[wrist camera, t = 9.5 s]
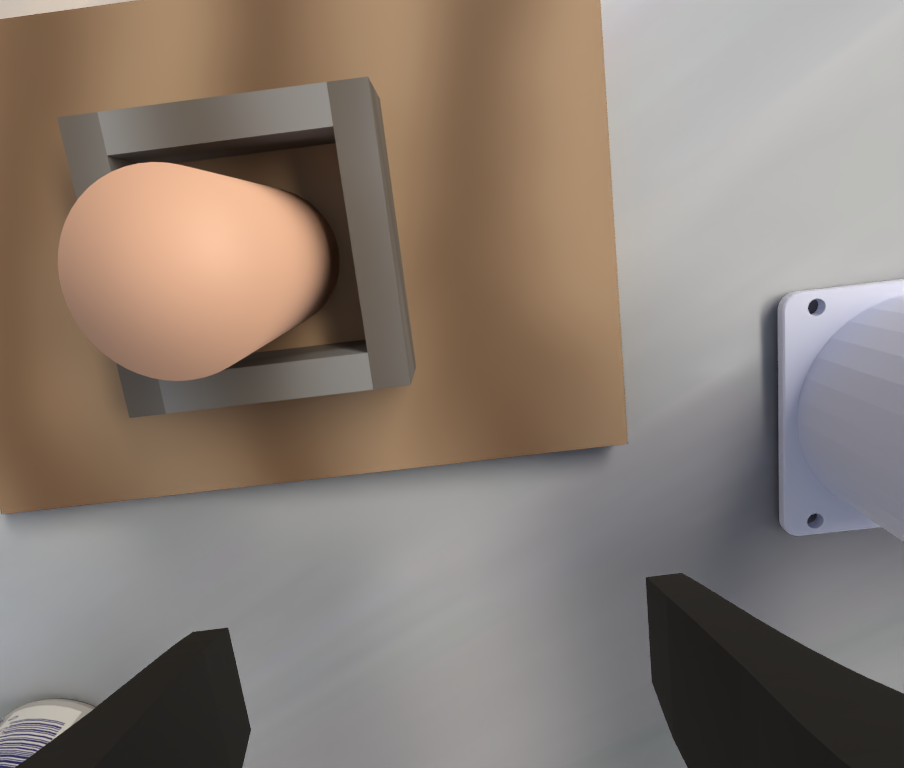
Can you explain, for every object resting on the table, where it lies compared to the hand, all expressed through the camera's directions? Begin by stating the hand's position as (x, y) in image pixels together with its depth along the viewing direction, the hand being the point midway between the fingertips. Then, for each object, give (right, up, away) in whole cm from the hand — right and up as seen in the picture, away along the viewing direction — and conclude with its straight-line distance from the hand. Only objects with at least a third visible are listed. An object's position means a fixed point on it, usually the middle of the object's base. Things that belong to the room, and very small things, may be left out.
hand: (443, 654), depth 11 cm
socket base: (-5, +9, +9) cm, 13 cm away
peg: (-5, +8, +8) cm, 12 cm away
